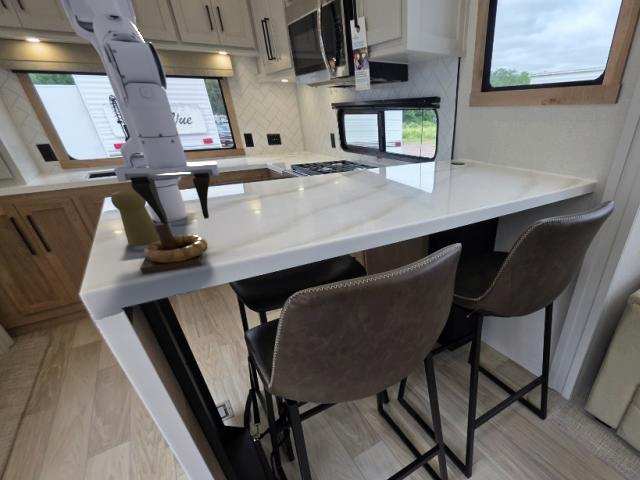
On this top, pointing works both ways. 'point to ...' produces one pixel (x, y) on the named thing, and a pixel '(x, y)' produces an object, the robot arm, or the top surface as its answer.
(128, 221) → the cork
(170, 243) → the holder
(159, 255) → the ring
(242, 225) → the top surface
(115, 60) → the robot arm
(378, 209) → the top surface
